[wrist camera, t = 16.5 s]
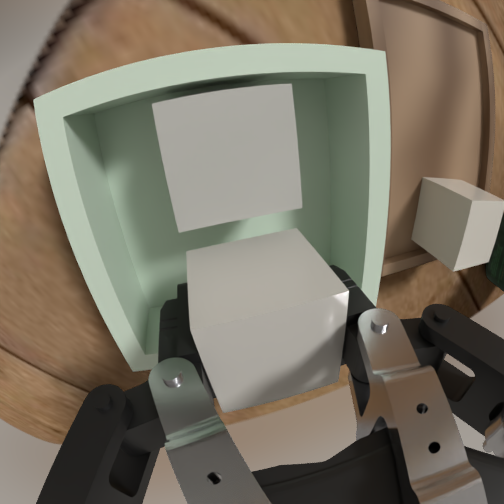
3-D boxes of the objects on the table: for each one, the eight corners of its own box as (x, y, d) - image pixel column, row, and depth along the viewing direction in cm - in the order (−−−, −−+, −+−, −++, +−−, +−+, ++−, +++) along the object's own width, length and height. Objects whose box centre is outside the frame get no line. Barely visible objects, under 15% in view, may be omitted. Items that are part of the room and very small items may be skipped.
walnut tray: (474, 24, 10) (486, 24, 9) (469, 238, 19) (478, 244, 18) (348, -20, 9) (360, -27, 8) (361, 269, 17) (371, 279, 16)
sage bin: (335, 60, 11) (385, 51, 8) (340, 274, 17) (373, 316, 14) (74, 99, 10) (33, 99, 6) (139, 318, 16) (133, 371, 12)
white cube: (460, 179, 15) (505, 201, 12) (449, 234, 17) (488, 261, 14) (422, 177, 14) (472, 200, 11) (411, 239, 16) (453, 271, 13)
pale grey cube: (296, 228, 11) (349, 290, 7) (300, 311, 13) (338, 381, 9) (186, 251, 10) (190, 329, 7) (209, 333, 12) (223, 412, 9)
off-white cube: (259, 90, 11) (291, 83, 7) (270, 178, 13) (302, 208, 9) (163, 105, 10) (152, 103, 7) (180, 195, 12) (178, 232, 9)
